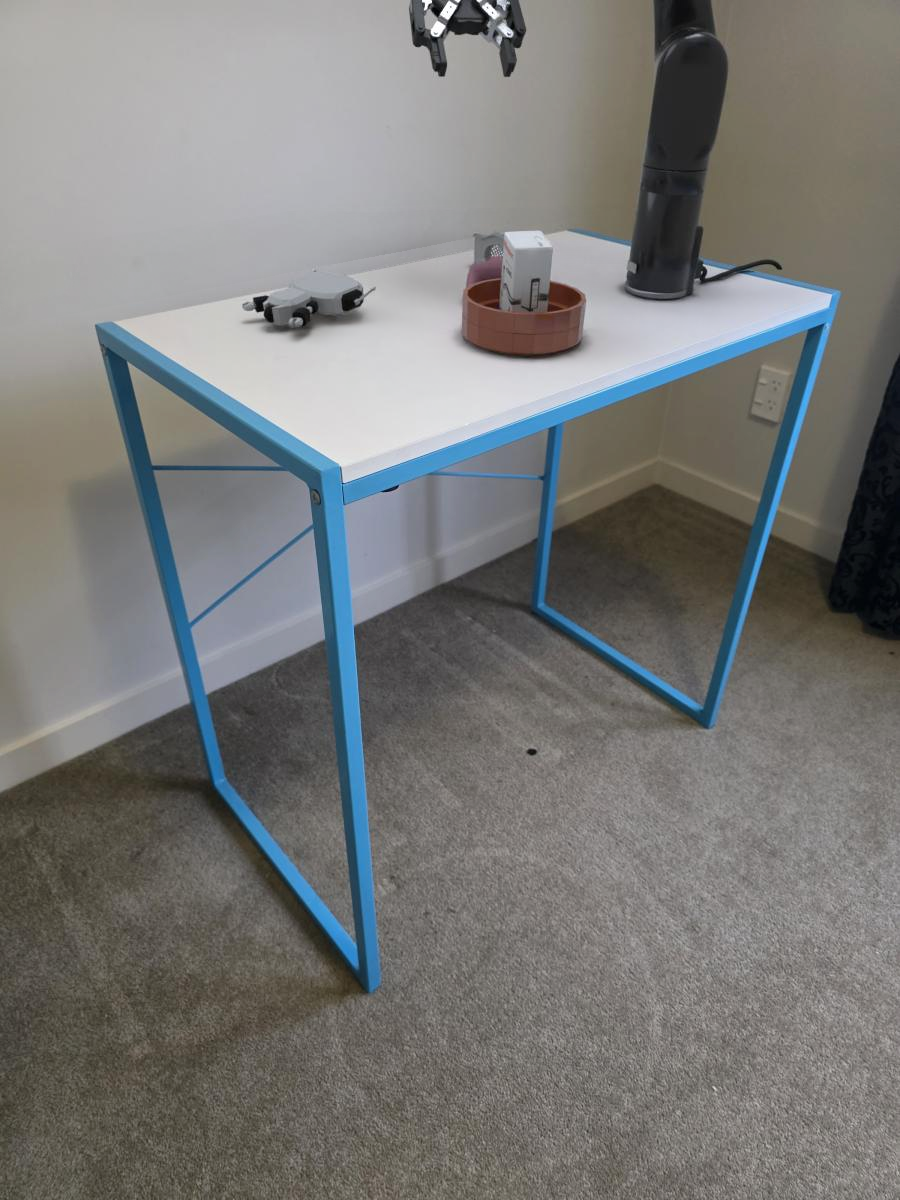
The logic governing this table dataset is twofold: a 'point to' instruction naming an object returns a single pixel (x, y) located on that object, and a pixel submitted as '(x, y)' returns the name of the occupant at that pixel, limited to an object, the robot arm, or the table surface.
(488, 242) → the lattice window wall
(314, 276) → the robot toy
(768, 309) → the table surface
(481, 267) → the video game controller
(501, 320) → the bowl
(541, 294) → the ink box
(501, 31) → the robot arm
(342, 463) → the table surface
